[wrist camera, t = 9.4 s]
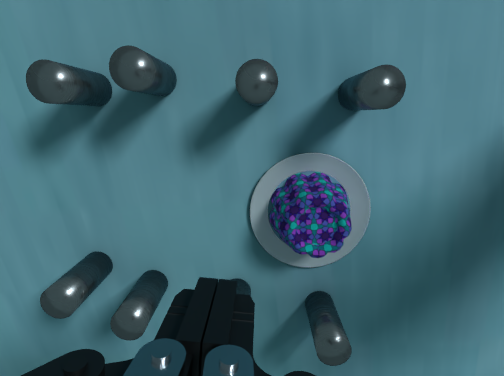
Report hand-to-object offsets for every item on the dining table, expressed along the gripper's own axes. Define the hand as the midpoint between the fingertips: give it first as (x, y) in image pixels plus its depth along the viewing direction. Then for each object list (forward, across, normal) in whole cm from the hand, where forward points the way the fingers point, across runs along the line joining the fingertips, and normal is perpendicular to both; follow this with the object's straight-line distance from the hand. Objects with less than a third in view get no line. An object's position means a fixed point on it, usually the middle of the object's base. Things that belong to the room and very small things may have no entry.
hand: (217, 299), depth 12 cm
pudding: (+20, -7, +2) cm, 21 cm away
